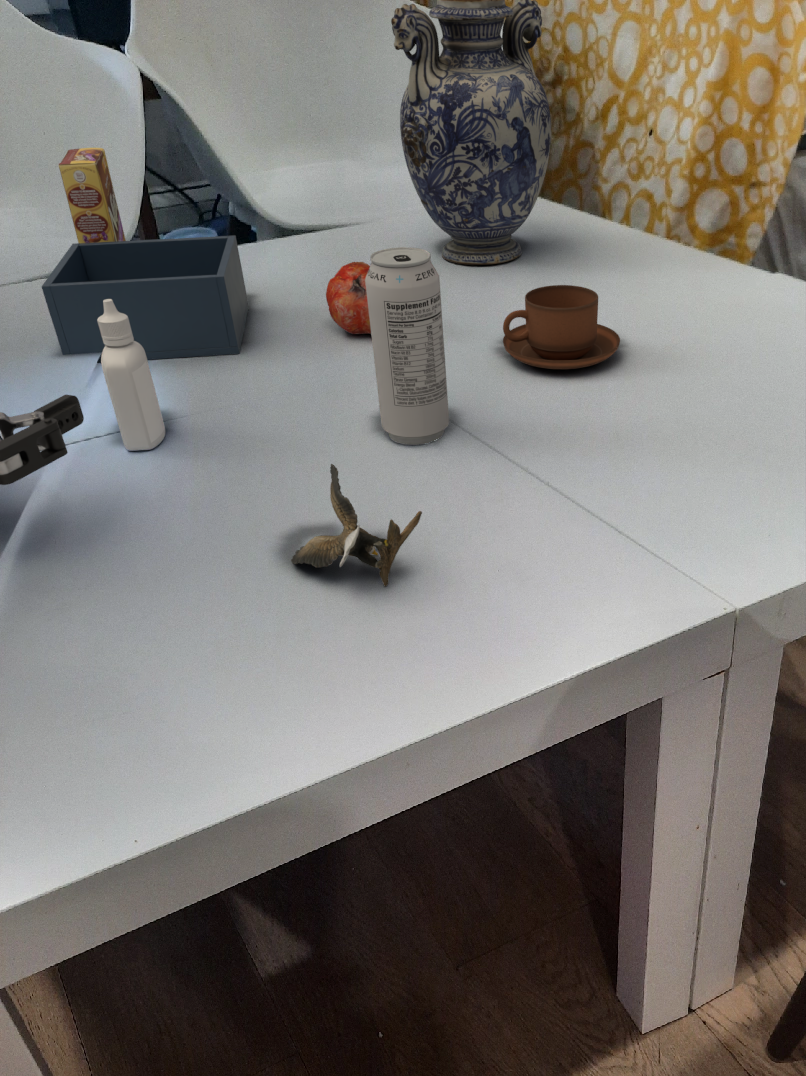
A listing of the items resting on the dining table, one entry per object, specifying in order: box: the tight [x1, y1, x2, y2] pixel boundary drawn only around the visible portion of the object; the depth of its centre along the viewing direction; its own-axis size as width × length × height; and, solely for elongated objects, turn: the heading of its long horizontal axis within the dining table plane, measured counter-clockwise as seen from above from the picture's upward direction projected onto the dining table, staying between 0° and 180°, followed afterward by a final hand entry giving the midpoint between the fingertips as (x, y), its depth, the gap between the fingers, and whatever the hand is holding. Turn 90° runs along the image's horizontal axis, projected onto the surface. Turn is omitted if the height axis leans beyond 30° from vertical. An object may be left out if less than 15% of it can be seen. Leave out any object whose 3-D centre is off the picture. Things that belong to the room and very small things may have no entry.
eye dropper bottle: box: [97, 299, 166, 452], centre depth 86 cm, size 4×6×12 cm
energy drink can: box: [365, 246, 450, 446], centre depth 86 cm, size 6×6×15 cm
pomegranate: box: [325, 261, 371, 335], centre depth 109 cm, size 7×7×10 cm
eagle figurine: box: [290, 463, 423, 587], centre depth 71 cm, size 8×7×9 cm
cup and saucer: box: [502, 284, 621, 370], centre depth 102 cm, size 12×12×6 cm
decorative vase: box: [390, 0, 552, 266], centre depth 124 cm, size 21×19×28 cm
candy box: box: [58, 147, 127, 243], centre depth 116 cm, size 9×4×15 cm, turn 13°
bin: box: [41, 234, 250, 364], centre depth 108 cm, size 18×16×8 cm
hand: (32, 399), depth 77 cm, fingers open, 8 cm apart
